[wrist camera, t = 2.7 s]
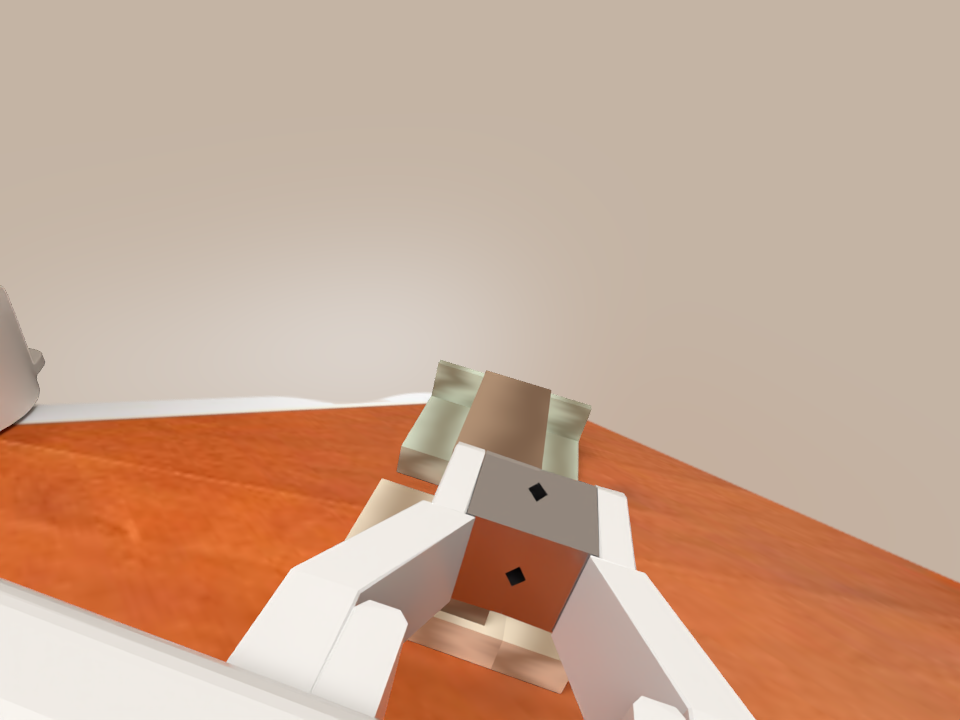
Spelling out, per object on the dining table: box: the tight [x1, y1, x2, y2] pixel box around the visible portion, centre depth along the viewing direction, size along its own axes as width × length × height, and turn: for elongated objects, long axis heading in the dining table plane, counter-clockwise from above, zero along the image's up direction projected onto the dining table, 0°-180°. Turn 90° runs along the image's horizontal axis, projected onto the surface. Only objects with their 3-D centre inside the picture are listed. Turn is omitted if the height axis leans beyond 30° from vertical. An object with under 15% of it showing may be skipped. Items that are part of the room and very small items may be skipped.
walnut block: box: [440, 371, 551, 626], centre depth 29 cm, size 4×9×12 cm, turn 168°
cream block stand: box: [345, 360, 591, 694], centre depth 38 cm, size 16×24×7 cm, turn 168°
